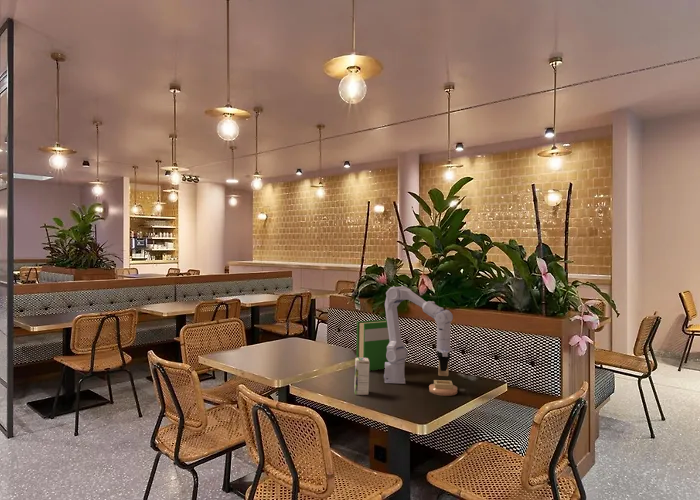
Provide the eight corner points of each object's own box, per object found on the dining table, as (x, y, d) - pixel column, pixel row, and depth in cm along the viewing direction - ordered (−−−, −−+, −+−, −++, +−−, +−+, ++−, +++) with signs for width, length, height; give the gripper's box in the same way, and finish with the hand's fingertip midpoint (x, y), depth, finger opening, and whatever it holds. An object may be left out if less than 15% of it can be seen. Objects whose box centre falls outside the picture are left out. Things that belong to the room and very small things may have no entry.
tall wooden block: (438, 375, 205) (439, 361, 205) (438, 374, 207) (438, 360, 207) (448, 376, 205) (448, 362, 205) (447, 374, 207) (447, 360, 207)
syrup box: (353, 391, 205) (354, 357, 205) (367, 390, 205) (368, 357, 205) (355, 395, 199) (355, 360, 199) (369, 395, 199) (369, 360, 199)
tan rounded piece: (430, 395, 201) (430, 385, 201) (428, 387, 212) (428, 378, 212) (459, 396, 199) (459, 386, 199) (455, 388, 211) (455, 379, 211)
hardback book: (364, 371, 238) (364, 323, 238) (356, 368, 244) (357, 321, 244) (392, 367, 247) (393, 321, 247) (384, 364, 253) (385, 319, 253)
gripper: (455, 342, 198) (454, 374, 198) (450, 335, 213) (450, 366, 213) (438, 341, 199) (437, 373, 199) (435, 335, 213) (434, 365, 213)
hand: (443, 369), depth 206 cm, fingers closed on tall wooden block, 2 cm apart
